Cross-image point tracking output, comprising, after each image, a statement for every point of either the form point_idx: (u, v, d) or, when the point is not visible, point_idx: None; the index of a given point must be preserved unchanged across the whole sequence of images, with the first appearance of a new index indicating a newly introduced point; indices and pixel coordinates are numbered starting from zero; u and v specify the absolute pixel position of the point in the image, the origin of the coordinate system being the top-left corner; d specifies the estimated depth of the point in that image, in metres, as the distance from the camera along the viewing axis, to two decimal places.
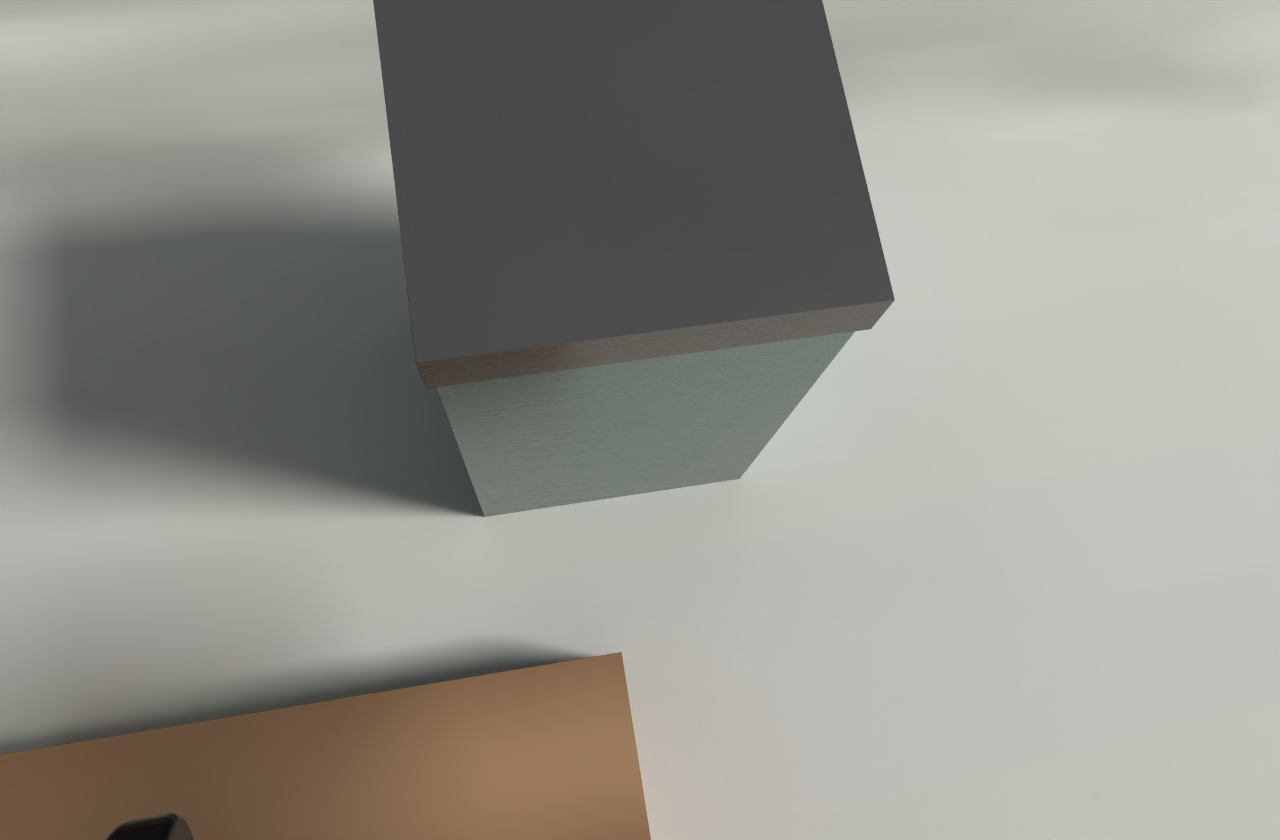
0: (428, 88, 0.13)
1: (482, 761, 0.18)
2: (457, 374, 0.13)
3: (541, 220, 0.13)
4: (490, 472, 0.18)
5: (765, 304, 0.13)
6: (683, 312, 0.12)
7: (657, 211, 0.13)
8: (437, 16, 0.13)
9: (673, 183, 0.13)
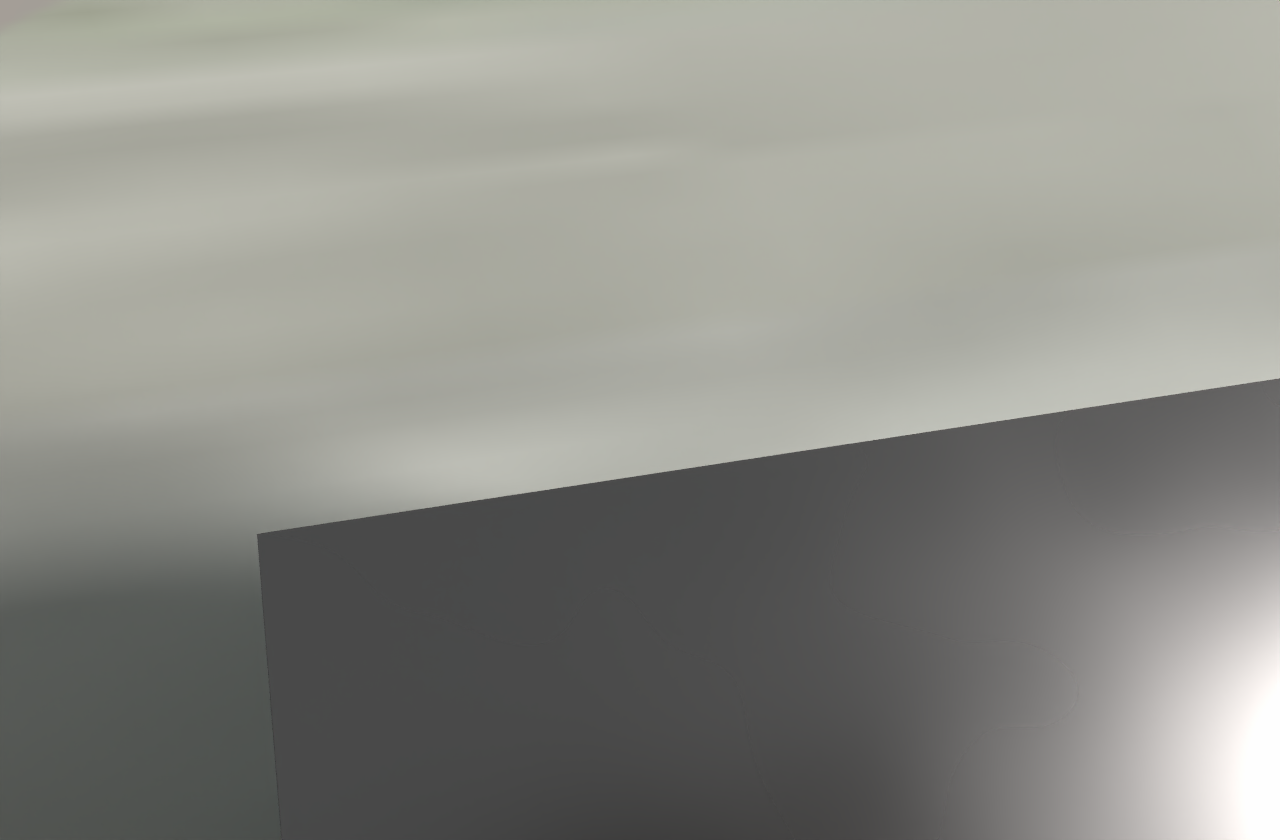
0: None
1: None
2: None
3: None
4: None
5: None
6: None
7: None
8: (469, 788, 0.04)
9: None
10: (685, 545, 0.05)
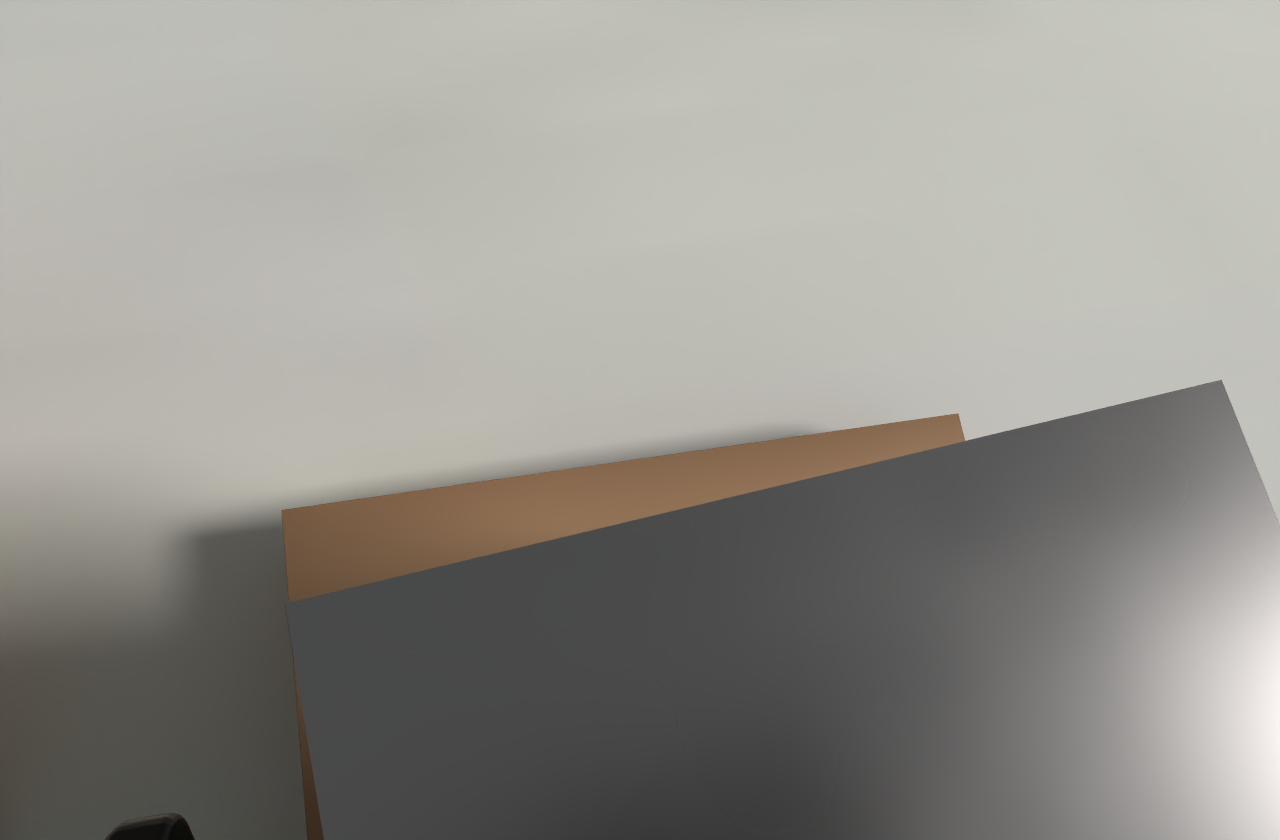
0: None
1: None
2: None
3: None
4: None
5: None
6: None
7: None
8: (466, 788, 0.06)
9: None
10: (622, 584, 0.06)
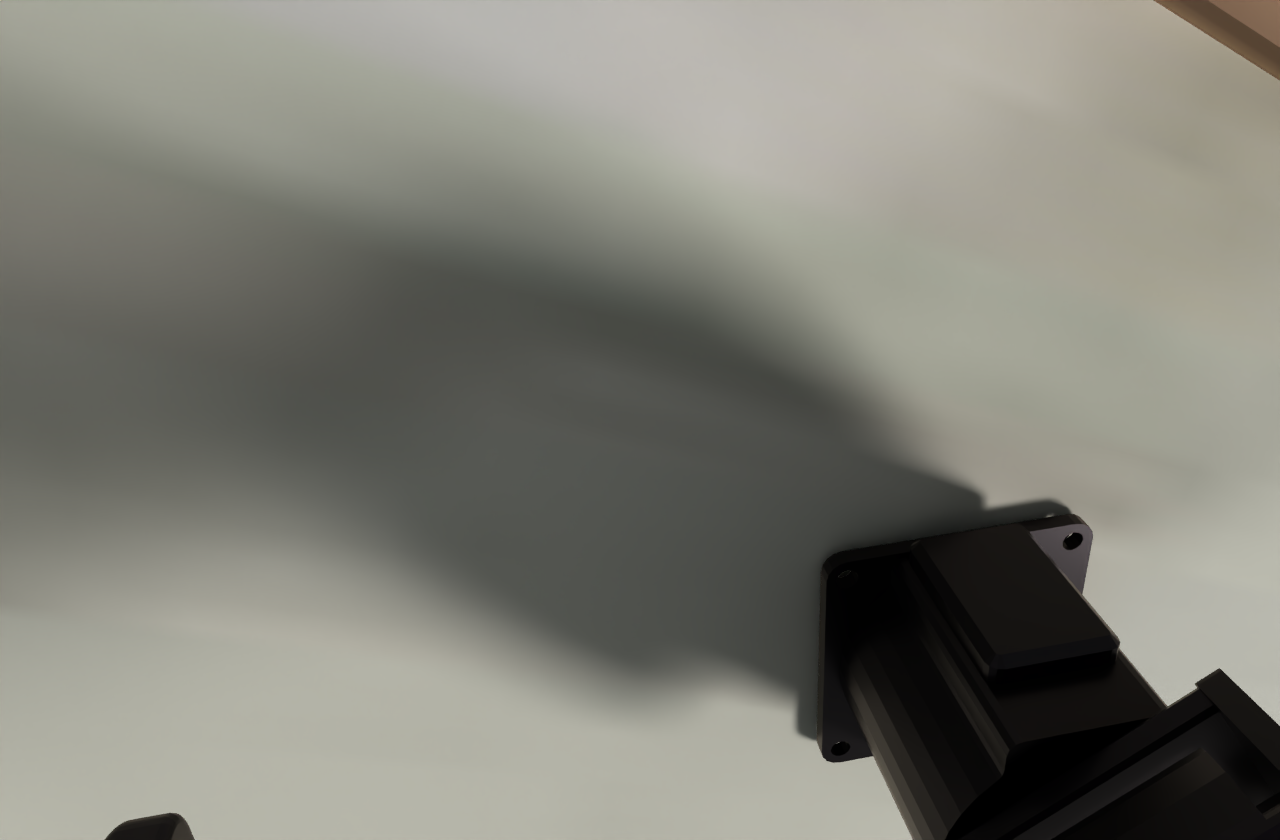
0: None
1: None
2: None
3: None
4: None
5: None
6: None
7: None
8: None
9: None
10: None
